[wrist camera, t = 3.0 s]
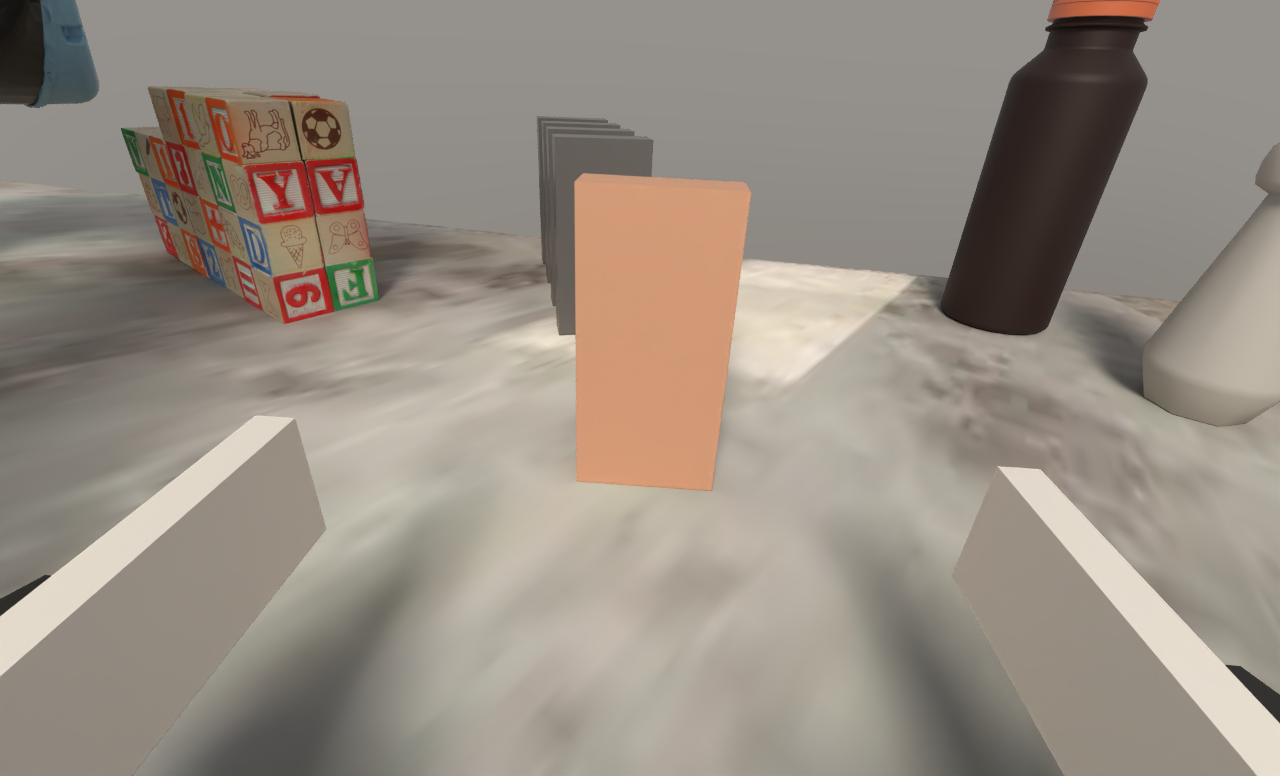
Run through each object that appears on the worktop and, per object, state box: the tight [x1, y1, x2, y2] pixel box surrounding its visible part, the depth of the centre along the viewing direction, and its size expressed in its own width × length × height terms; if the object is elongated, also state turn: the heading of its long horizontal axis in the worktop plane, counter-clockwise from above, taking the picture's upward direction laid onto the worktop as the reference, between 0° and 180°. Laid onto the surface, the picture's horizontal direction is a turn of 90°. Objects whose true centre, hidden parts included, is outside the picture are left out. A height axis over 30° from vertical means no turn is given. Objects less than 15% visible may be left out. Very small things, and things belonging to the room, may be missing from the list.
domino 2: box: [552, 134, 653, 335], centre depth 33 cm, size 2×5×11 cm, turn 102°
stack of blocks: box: [121, 87, 379, 324], centre depth 39 cm, size 21×6×12 cm, turn 51°
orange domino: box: [574, 173, 751, 491], centre depth 20 cm, size 2×5×11 cm, turn 87°
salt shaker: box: [1142, 143, 1280, 427], centre depth 27 cm, size 6×6×13 cm
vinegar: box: [941, 0, 1160, 335], centre depth 36 cm, size 7×7×20 cm
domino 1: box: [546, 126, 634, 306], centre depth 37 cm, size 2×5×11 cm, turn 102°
